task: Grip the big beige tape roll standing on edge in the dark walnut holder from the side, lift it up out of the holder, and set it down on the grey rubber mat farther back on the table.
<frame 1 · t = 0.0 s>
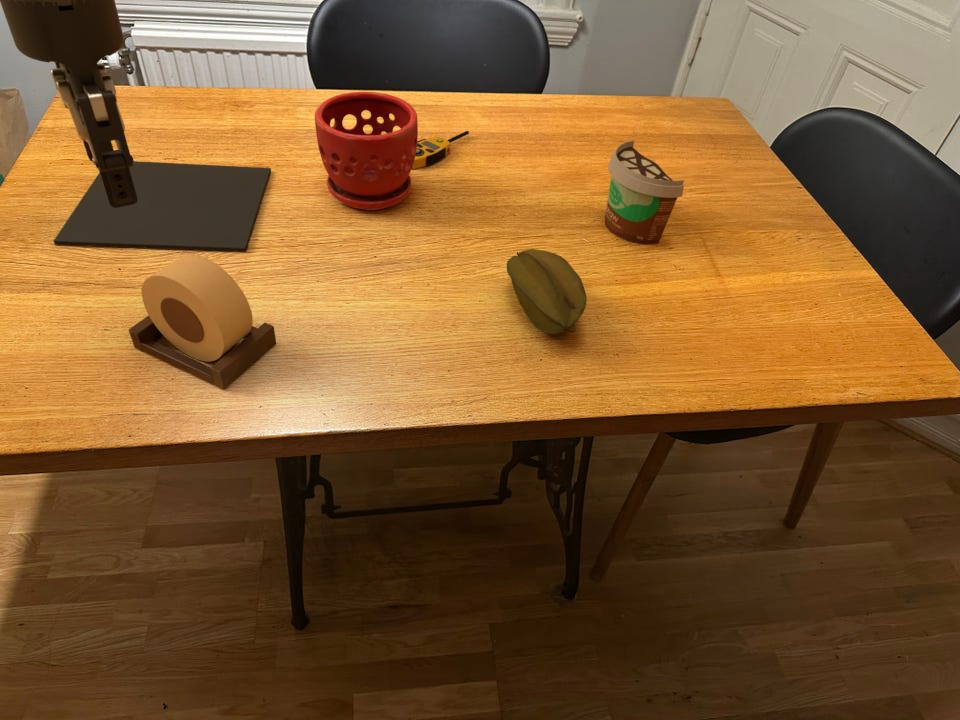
hand: (112, 180, 62), 17 cm above the table, tool pointing down, fingers open, 8 cm apart
walkie talkie: (438, 152, 108), on the table
plant pot: (368, 195, 97), on the table
food container: (620, 229, 97), on the table
fruit: (538, 314, 81), on the table
mat: (173, 205, 91), on the table
tape roll: (206, 345, 72), resting in holder
holder: (206, 345, 72), on the table
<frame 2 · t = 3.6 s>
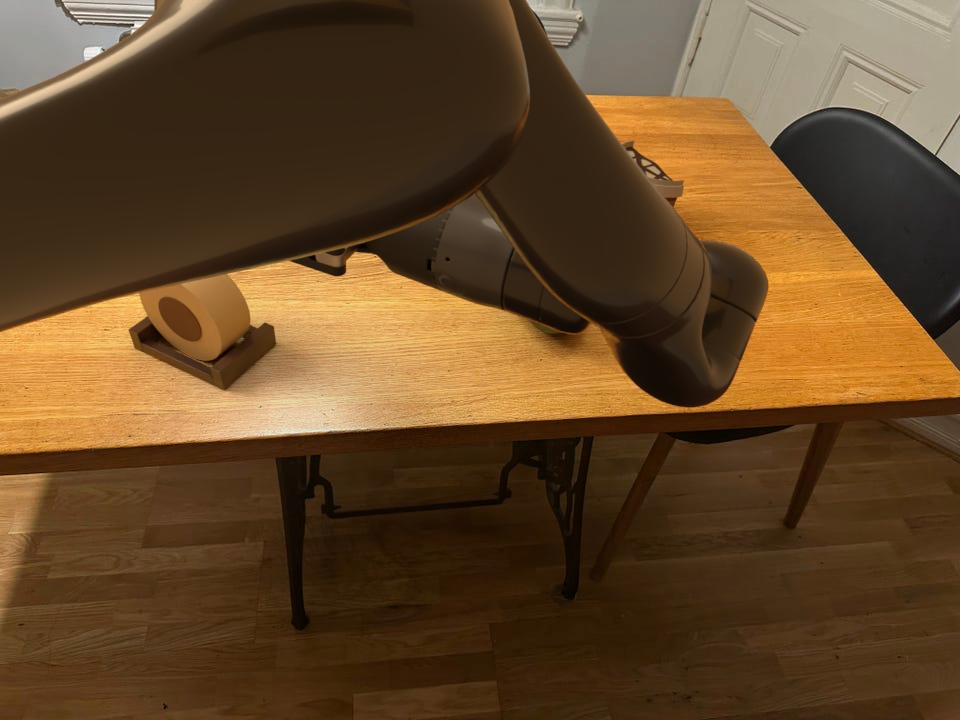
hand: (276, 176, 53), 23 cm above the table, tool horizontal, fingers open, 8 cm apart
nothing on the table moved.
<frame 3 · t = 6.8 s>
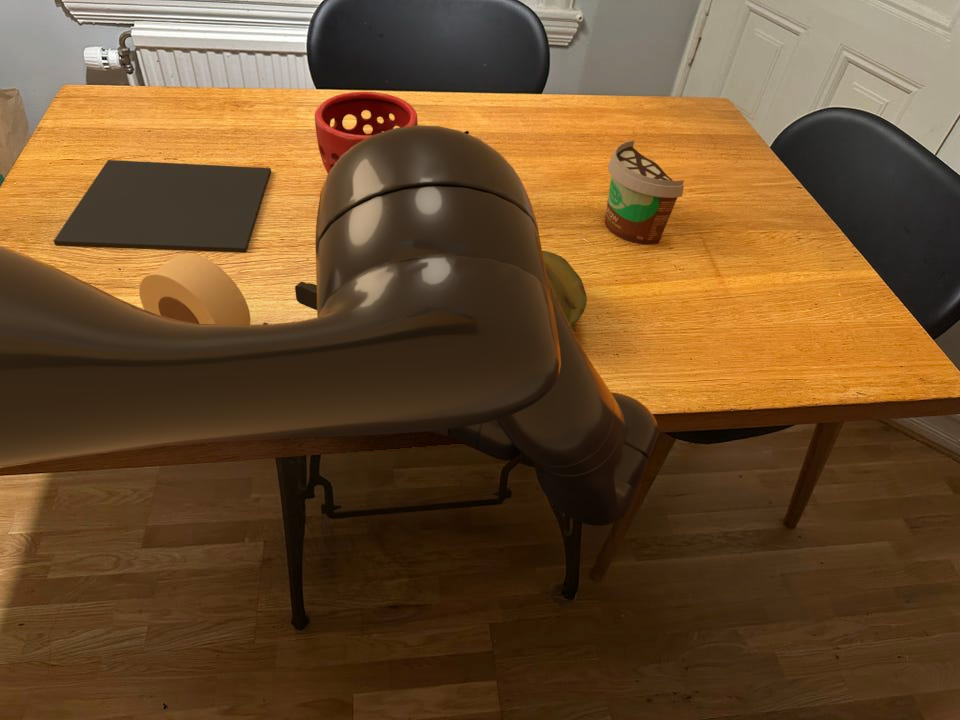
hand: (268, 315, 64), 8 cm above the table, tool horizontal, fingers open, 8 cm apart
tape roll: (206, 345, 72), resting in holder
everything else where it was.
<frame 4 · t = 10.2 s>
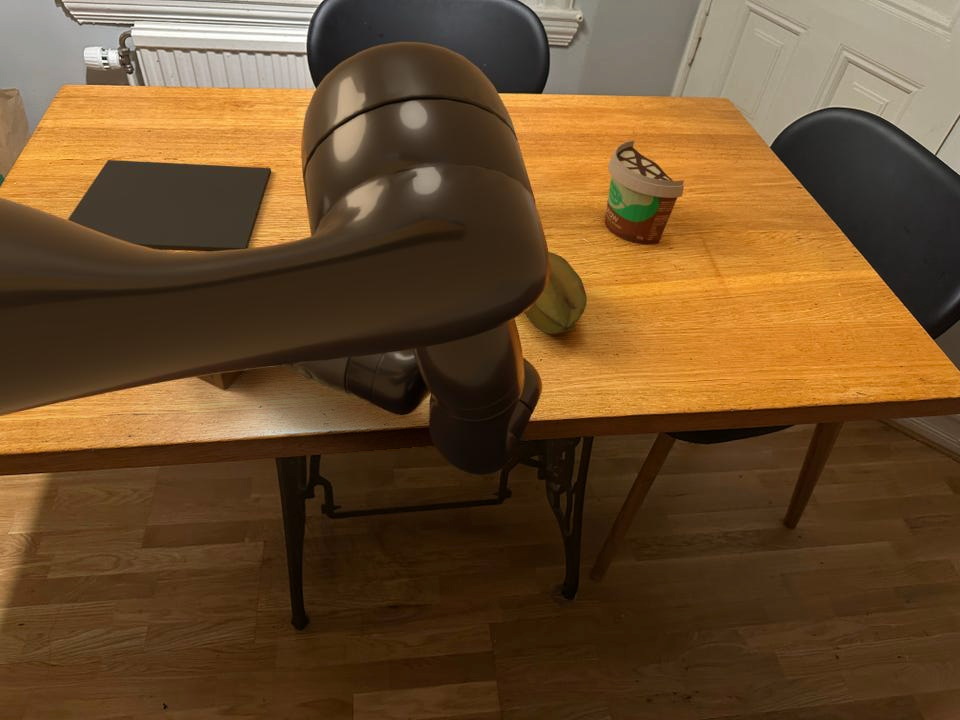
hand: (178, 278, 67), 8 cm above the table, tool horizontal, fingers closed on tape roll, 4 cm apart
tape roll: (206, 345, 72), resting in holder, touching gripper
everything else where it was.
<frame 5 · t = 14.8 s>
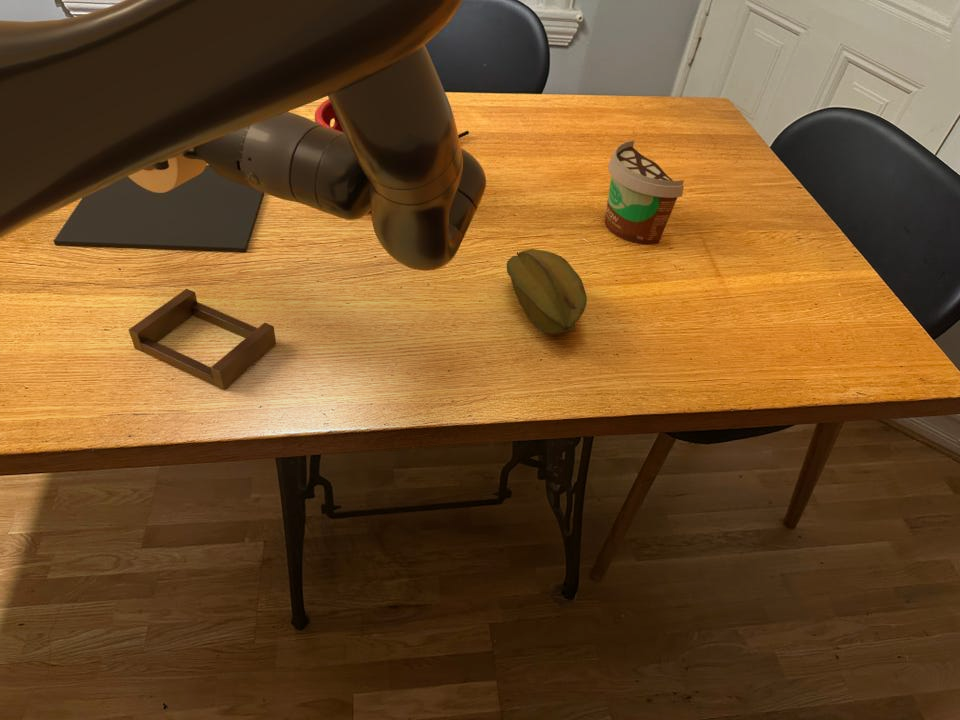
hand: (132, 102, 68), 20 cm above the table, tool horizontal, fingers closed on tape roll, 4 cm apart
tape roll: (163, 182, 72), point 12 cm above the table, touching gripper
everything else where it was.
when the fingers open (9 cm above the table, at t = 19.6 s): tape roll stays where it is, resting on mat.
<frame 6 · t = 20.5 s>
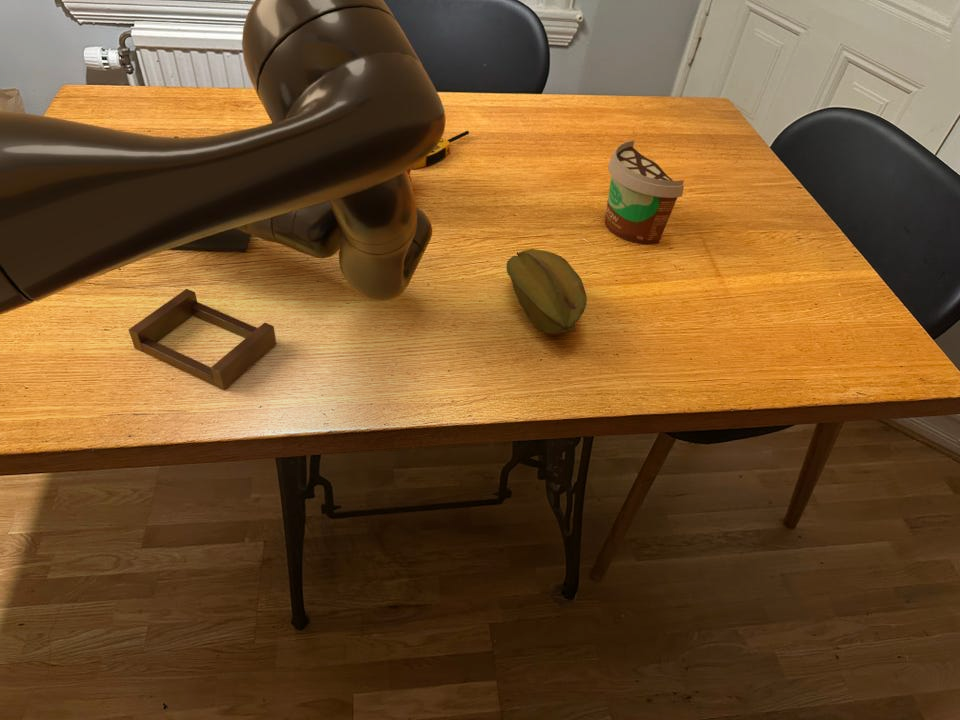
hand: (145, 158, 80), 9 cm above the table, tool horizontal, fingers open, 8 cm apart
tape roll: (169, 226, 86), point 1 cm above the table, touching mat
everything else where it was.
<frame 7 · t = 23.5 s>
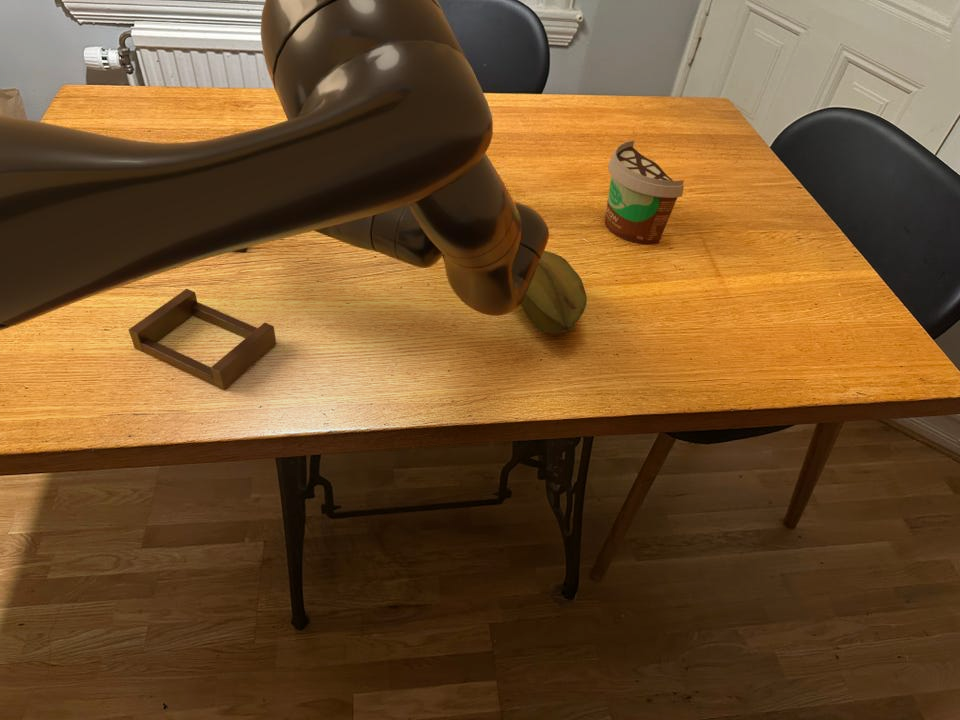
hand: (221, 157, 73), 14 cm above the table, tool horizontal, fingers open, 8 cm apart
tape roll: (168, 224, 86), point 1 cm above the table, tilted 21°, touching mat
everything else where it was.
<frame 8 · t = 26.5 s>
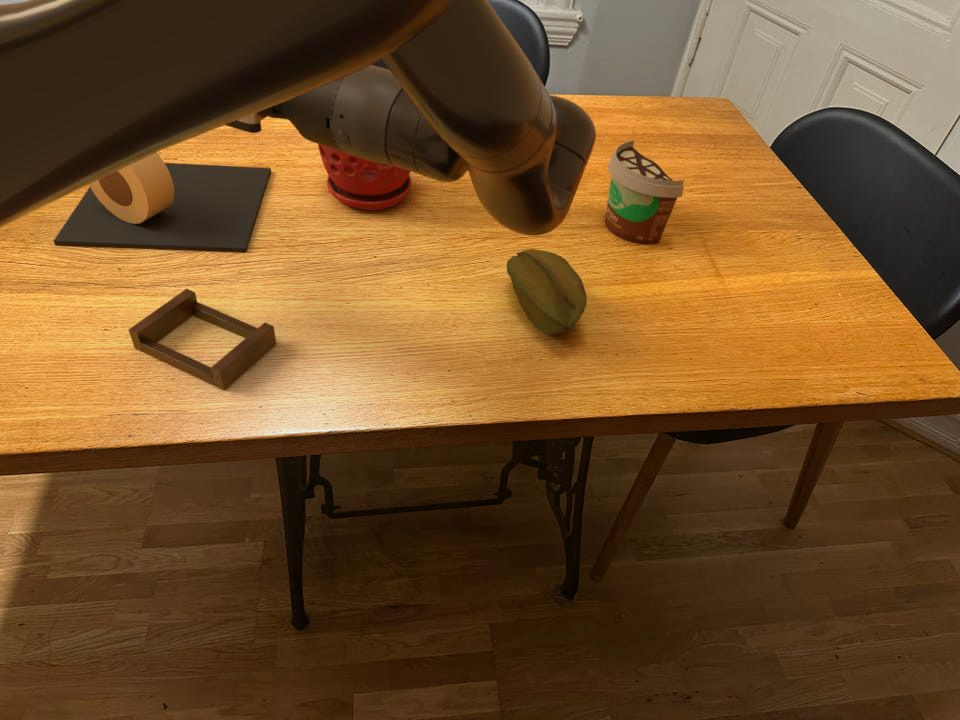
hand: (211, 63, 63), 25 cm above the table, tool horizontal, fingers open, 8 cm apart
tape roll: (160, 208, 85), point 3 cm above the table, tilted 57°, touching mat
everything else where it was.
at the end: tape roll inside the target area on the mat (4.6 cm from its centre), point 3.0 cm above the mat's base; the gripper is holding nothing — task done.
